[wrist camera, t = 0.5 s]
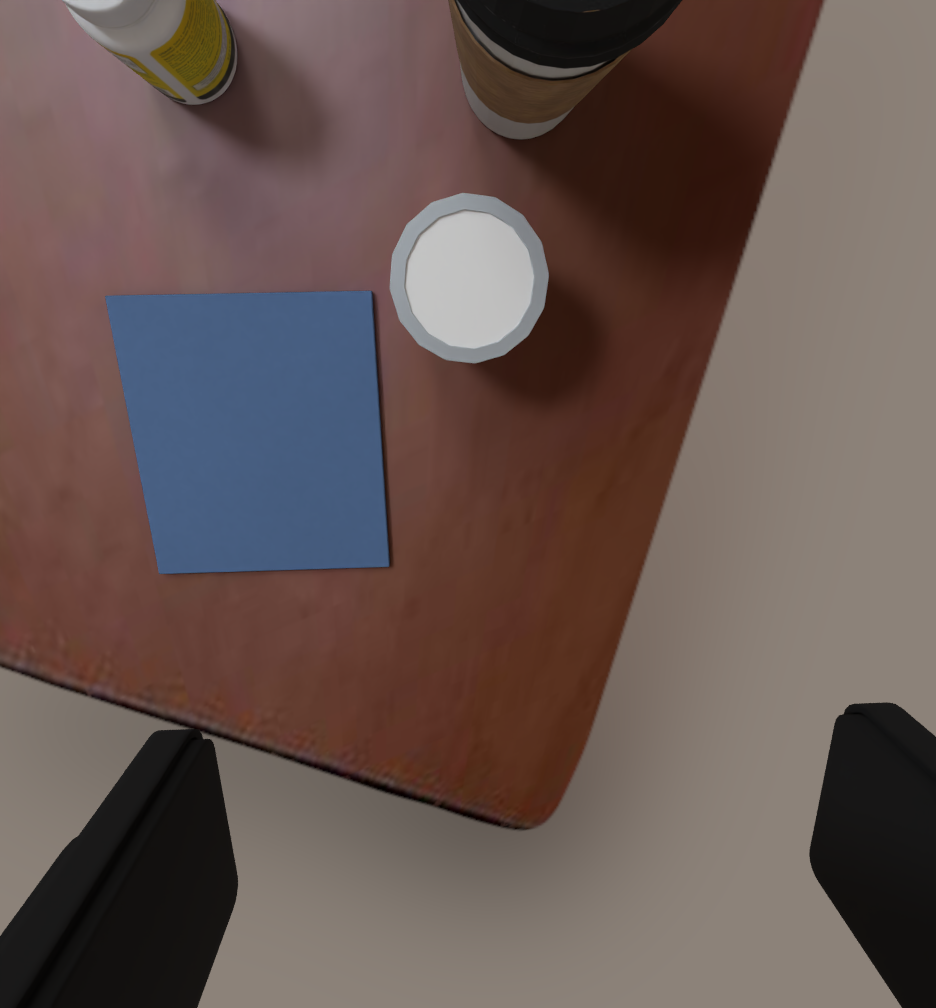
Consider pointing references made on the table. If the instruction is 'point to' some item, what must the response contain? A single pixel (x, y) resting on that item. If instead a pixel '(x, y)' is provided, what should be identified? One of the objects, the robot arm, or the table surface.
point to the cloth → (255, 428)
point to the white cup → (469, 278)
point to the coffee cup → (544, 54)
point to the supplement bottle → (166, 43)
